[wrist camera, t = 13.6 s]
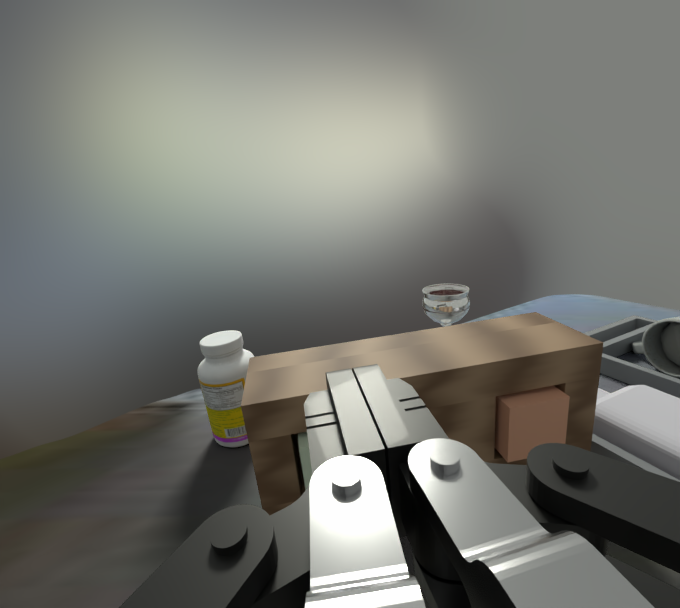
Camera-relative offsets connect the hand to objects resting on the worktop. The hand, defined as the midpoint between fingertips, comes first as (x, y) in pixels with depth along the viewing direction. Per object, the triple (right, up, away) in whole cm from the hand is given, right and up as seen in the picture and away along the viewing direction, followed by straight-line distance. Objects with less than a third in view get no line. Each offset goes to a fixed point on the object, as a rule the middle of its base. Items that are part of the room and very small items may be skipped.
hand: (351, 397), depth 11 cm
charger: (+30, -12, +28) cm, 42 cm away
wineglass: (+16, -7, +47) cm, 50 cm away
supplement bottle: (-13, -14, +35) cm, 40 cm away
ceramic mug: (+46, -6, +40) cm, 61 cm away
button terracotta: (+15, -9, +21) cm, 28 cm away
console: (+7, -15, +24) cm, 29 cm away
